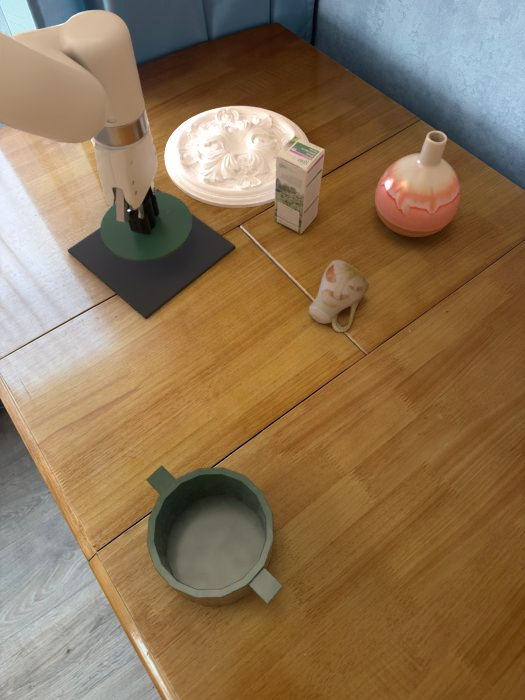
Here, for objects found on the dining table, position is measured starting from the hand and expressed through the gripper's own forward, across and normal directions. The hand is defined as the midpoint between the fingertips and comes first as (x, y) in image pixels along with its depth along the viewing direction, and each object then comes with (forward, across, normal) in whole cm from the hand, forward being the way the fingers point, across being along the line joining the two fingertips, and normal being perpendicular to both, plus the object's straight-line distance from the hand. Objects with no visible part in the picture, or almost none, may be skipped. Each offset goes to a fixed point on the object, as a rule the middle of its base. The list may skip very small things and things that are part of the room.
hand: (145, 221), depth 84 cm
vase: (+7, -16, +42) cm, 45 cm away
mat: (+7, 0, 0) cm, 7 cm away
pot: (+7, +44, +23) cm, 50 cm away
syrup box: (+7, -12, +22) cm, 26 cm away
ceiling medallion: (+7, -26, +8) cm, 28 cm away
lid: (+1, 0, 0) cm, 1 cm away
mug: (+7, +5, +32) cm, 33 cm away
